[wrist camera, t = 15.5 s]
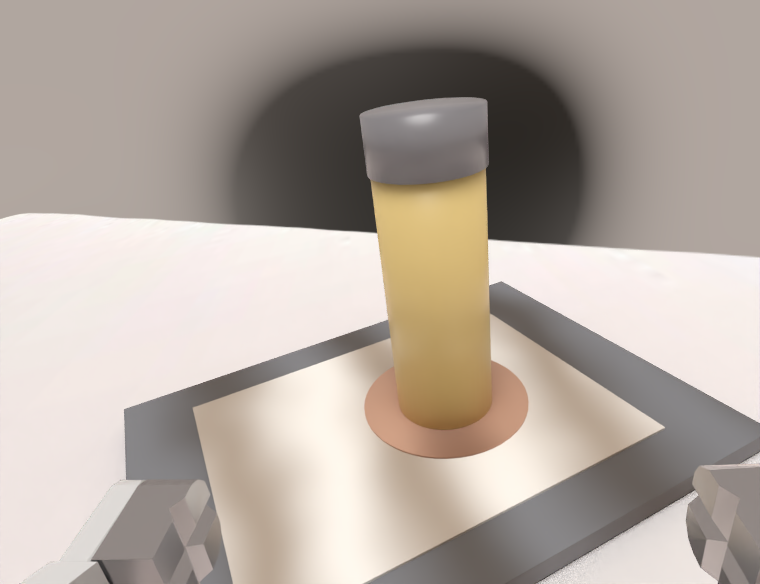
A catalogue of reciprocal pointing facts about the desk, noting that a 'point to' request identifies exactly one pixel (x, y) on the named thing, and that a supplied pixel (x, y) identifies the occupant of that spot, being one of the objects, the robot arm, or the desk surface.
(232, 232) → the desk surface
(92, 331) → the desk surface
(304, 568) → the grey metal tray
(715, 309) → the desk surface
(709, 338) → the desk surface
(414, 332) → the marker
